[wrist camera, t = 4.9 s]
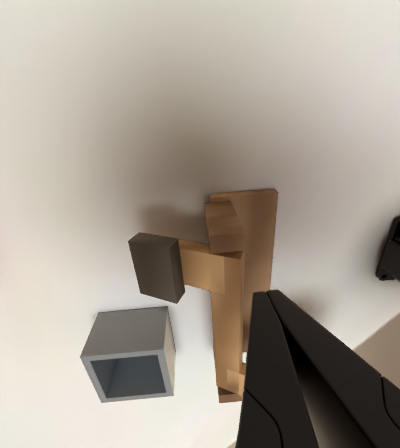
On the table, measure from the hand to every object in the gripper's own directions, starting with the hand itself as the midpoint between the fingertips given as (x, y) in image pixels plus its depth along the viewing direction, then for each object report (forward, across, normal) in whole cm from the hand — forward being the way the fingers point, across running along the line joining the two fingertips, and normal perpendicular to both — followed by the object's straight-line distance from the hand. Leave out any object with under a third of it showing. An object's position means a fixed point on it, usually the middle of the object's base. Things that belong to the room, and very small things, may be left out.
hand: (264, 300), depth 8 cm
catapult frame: (+11, -1, +9) cm, 15 cm away
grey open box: (+11, +10, +14) cm, 21 cm away
